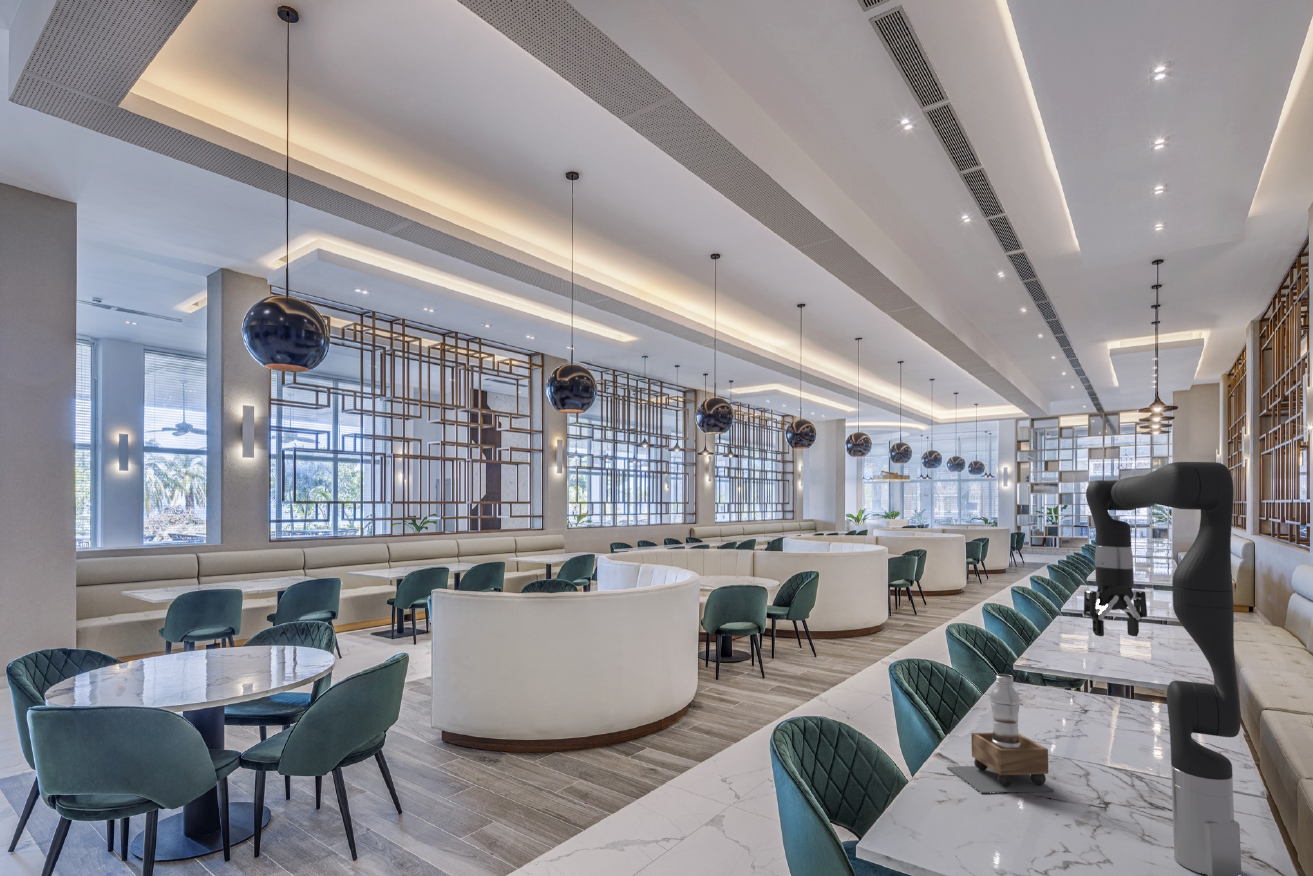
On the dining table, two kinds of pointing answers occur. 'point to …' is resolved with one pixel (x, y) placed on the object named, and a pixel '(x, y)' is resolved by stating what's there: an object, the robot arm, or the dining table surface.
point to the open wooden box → (1010, 758)
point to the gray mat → (996, 781)
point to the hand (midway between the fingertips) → (1116, 635)
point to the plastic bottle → (1005, 713)
